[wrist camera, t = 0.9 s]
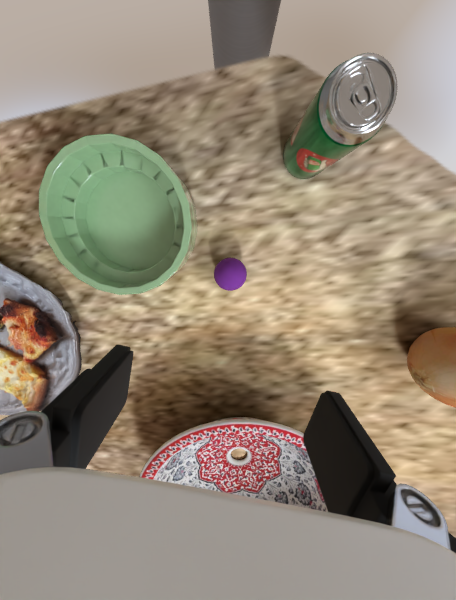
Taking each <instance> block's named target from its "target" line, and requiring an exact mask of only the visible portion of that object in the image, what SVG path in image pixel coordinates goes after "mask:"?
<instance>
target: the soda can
mask: <svg viewBox="0 0 456 600" xmlns="http://www.w3.org/2000/svg"><path fill="white" fill-rule="evenodd" d="M396 95H397V79H396V74H395V71H394V69H393V67H392V66H391V64H390V63H389V62H388V61H387V60H386V59H385V58H384V57H382V56H380V55H378V54H374V53H363V54H360V55H357V56H355V57H353V58H351V59H350V60H347V61H345V62H343V63H342V64H340V65H339V66H337V67H336V68H335V69H334V70H333V71H332V72H331V73H330V75H329V76H328V77H327V78H326V80H325V81H324V83H323V85H322V86H321V88H320V89H319V91H318V93H317V94H316V96H315V97H314V99H313V101H312V102H311V104H310V105H309V107H308V109H307V110H306V112H305V113H304V115H303V117H302V118H301V120H300V121H299V123H298V124H297V126H296V128H295V129H294V131H293V132H292V134H291V136H290V137H289V139H288V141H287V142H286V145H285V148H284V153H283V159H284V164H285V167H286V168H287V170H288V171H289V173H290V174H291V175H293V176H294V177H296V178H300V179H308V178H312V177H314V176H315V175H317V174H318V173H320V172H321V171H323V170H325V169H326V168H328V167H329V166H331V165H332V164H334V163H335V162H337V161H338V160H340V159H341V158H343V157H344V156H346V155H347V154H349V153H350V152H352V151H353V150H355V149H356V148H358V147H359V146H361V145H362V144H364V143H365V142H367V141H368V140H370V139H371V138H372V137H373V136H374V135H376V134H377V132H378V131H379V130H380V129H381V128H382V126H383V124H384V123H385V121H386V119H387V117H388V115H389V114H390V112H391V110H392V108H393V105H394V103H395V100H396Z"/></svg>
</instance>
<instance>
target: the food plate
mask: <svg viewBox="0 0 456 600" xmlns="http://www.w3.org/2000/svg"><path fill="white" fill-rule="evenodd" d="M62 305H63V304H62V301H61V300H60V299H58V298H57V297H56V296H55V295H54V294H52V293H51V292H50V291H47V290H46V288H45V289H44V288H42V286H40V285H39V284H37V283H34V282H33V281H32V280H30V279H28V278H27V277H25V276H23V275H22V274H20V273H19V272H17V271H15V270H12V269H10V268H8V267H6V266H5V265H4V264H2V263H1V262H0V415H13V414H16V413H19V412H24V411H38V412H39V411H41V410H43V409H44V408H45V407H46V406H47V405H49V404H50V403H51V402H52V401H53V400H54V399H55V398H56V397H57V396H58V395H59V394H60V393H61V392H62V391H63V390H64V389H66V388H67V387H68V386H69V385H70V384H71V383H72V382H73V381H74V380H75V379H76V378H77V377H78V376H79V372H80V370H81V369H80V368H81V360H82V359H81V353H80V335H79V333H78V331H77V330H78V328H76V326H75V324H74V323H75V322H76V321H74V322H73V324H72V323H71V320H72V319H71V315H70V314H69V312H67V311H65V310H63V308H62Z"/></svg>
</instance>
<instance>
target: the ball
mask: <svg viewBox="0 0 456 600" xmlns="http://www.w3.org/2000/svg"><path fill="white" fill-rule="evenodd" d="M246 275H247V274H246V268H245V266H244V265H243V263H242V262H241V261H239V260H237V259H235V258H226V259H223V260H222V261H220V262H219V263H218V264H217V266H216V268H215V271H214V278H215V281H216V283H217V284H218V285H219V286H220V287H221V288H223V289H225V290H236V289H238V288H240V287H241V286H242V285H243V284H244V282H245V280H246Z"/></svg>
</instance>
